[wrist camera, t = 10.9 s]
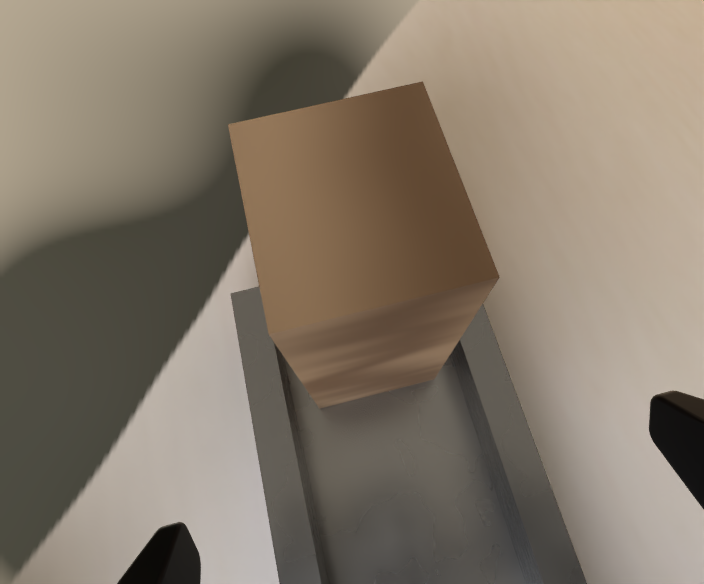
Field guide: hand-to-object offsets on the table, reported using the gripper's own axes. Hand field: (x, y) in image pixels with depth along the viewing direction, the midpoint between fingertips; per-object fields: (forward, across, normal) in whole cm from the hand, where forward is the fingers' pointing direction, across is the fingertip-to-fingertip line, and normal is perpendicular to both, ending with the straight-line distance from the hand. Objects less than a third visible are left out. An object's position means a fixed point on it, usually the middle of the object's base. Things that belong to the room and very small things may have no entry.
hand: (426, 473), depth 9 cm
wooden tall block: (+10, 0, +2) cm, 11 cm away
